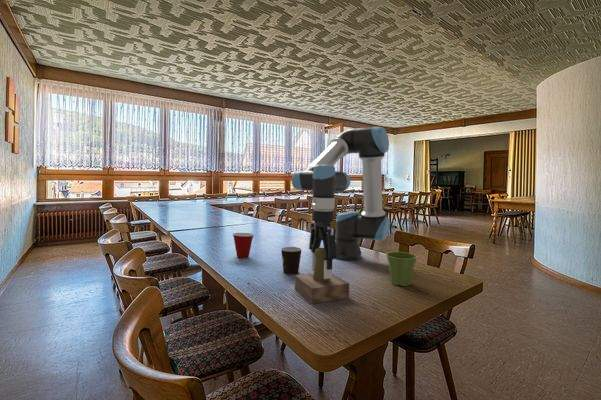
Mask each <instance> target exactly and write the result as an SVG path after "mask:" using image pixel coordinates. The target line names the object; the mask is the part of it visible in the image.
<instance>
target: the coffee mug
mask: <svg viewBox="0 0 601 400" xmlns="http://www.w3.org/2000/svg"><path fill="white" fill-rule="evenodd" d="M280 250H281V262H282V269H283V272H282V273H283V274H285V275H298V274H299V271H300V263H301V257H302V256H301V255H302V250H303V249H302V248H301V247H298V246H285V247H281V249H280Z"/></svg>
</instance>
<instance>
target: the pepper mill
mask: <svg viewBox="0 0 601 400" xmlns="http://www.w3.org/2000/svg"><path fill="white" fill-rule="evenodd" d="M315 257H316V262H315V269H314V271H313V273H314V275H313V280H315V281H317V282H327V281H329V280H330V278H329V279H324V259H325V258H326V257H325V252H324V247H319V248H317V249H316V250H315Z"/></svg>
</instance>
